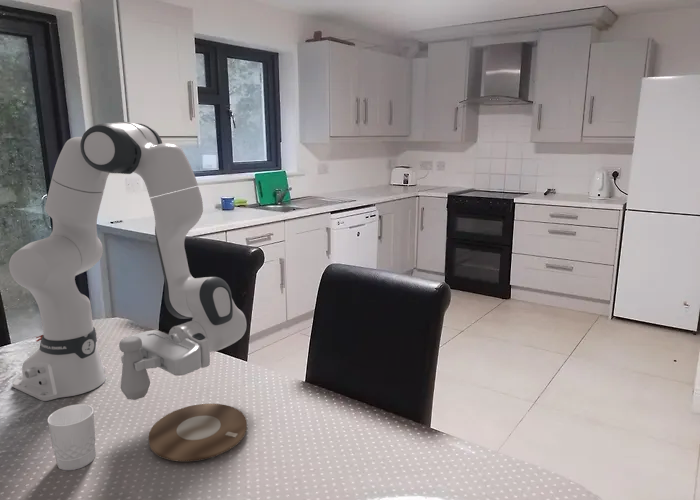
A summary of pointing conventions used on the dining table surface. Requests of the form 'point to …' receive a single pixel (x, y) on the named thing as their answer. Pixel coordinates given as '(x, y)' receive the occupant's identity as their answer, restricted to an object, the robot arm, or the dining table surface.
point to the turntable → (197, 432)
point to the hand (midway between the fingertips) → (128, 363)
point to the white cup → (73, 436)
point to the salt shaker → (133, 380)
